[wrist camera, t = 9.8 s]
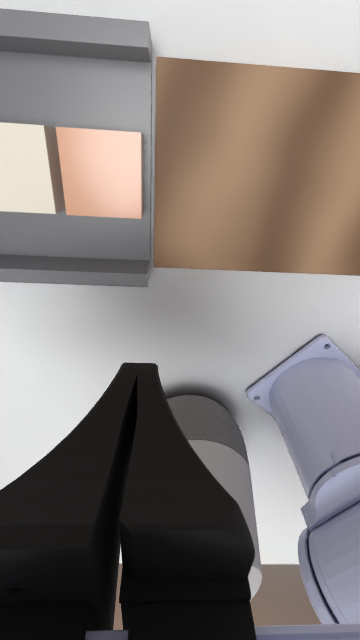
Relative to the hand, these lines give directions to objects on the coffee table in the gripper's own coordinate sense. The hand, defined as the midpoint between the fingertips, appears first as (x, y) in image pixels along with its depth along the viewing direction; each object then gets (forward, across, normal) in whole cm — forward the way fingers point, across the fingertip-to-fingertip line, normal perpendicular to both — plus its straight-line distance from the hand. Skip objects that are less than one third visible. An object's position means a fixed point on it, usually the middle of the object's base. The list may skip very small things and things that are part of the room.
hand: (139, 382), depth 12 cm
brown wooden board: (+10, -8, -7) cm, 15 cm away
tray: (+10, +6, -7) cm, 13 cm away
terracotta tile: (+10, +2, -7) cm, 12 cm away
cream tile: (+10, +7, -7) cm, 14 cm away
